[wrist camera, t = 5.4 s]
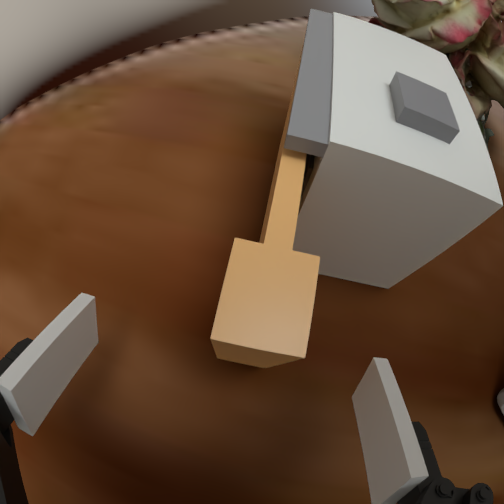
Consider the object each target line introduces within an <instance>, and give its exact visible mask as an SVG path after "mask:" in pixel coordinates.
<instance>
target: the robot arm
mask: <svg viewBox="0 0 504 504" xmlns="http://www.w3.org/2000/svg"><path fill="white" fill-rule="evenodd" d="M98 342H99V341H98V331H97V319H96V305H95V297H94V296H91V295H88V294H84V293H81V294H80V295H79V296H78V297H77V298H76V299H75V300H73V301H72V302H71V303H70V304H69V305H68V306H67V307H66V308H65V309H64V310H63V311H62V312H61V313H60V314H59V315H58V316H57V317H56V318H55V319H54V320H53V321H52V322H51V323H50V324H49V325H48V326H47V327H46V328H45V329H44V330H43V331H42V332H41V333H40V334H39V335H38V336H37V337H36V338H35V340H34V341H33V340H31V339H29V338H26V339H24V340H22V341H20V342H18V343H17V344H16V345H15V346H14V347H13V348H12V349H11V351H9V352H8V353H7V354H6V355H5V357H3V358H2V359H1V361H0V504H29V503H28V500H27V496H26V493H25V489H24V485H23V481H22V477H21V473H20V469H19V464H18V459H17V454H16V449H15V443H14V437H13V431H12V427H11V423H12V422H13V420H15V422H16V424H17V426H18V428H20V429H21V430H23V431H25V432H26V433H28V434H30V435H31V436H33V435H34V434H35V432H36V431H37V429H38V428H39V426H40V425H41V423H42V422H43V420H44V419H45V417H46V416H47V414H48V413H49V411H50V410H51V408H52V407H53V405H54V404H55V402H56V401H57V399H58V398H59V396H60V395H61V394H62V392H63V391H64V389H65V388H66V386H67V385H68V384H69V382H70V381H71V379H72V378H73V377H74V375H75V374H76V372H77V371H78V370H79V368H80V367H81V365H82V364H83V363H84V361H85V360H86V358H87V357H88V356H89V354H90V353H91V352H92V350H93V349H94V348H95V346H96V345H97V344H98ZM352 401H353V406H354V410H355V415H356V420H357V425H358V430H359V435H360V440H361V445H362V450H363V455H364V461H365V466H366V472H367V478H368V484H369V490H370V496H371V502H372V504H395V503H398V504H493V492H492V490H491V488H490V487H489V486H488V485H486V484H484V483H478V484H476V485H474V486H473V487H472V488H471V489H463V488H456V487H455V486H454V484H453V483H452V482H451V481H450V480H449V479H446V478H443V477H442V476H441V473H440V470H439V467H438V464H437V461H436V458H435V455H434V452H433V449H431V448H432V446H431V444H430V442H429V438H428V435H427V433H426V430H425V429H424V428H423V426H422V425H421V424H420V423H419V422H411V420H410V417H409V414H408V411H407V408H406V406H405V403H404V400H403V398H402V395H401V392H400V390H399V387H398V384H397V382H396V379H395V377H394V374H393V372H392V369H391V366H390V364H389V362H388V359H385V358H376V357H373V359H372V361H371V363H370V365H369V367H368V369H367V370H366V372H365V374H364V376H363V378H362V380H361V381H360V383H359V385H358V387H357V388H356V390H355V392H354V394H353V395H352Z"/></svg>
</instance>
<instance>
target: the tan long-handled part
mask: <svg viewBox="0 0 504 504" xmlns="http://www.w3.org/2000/svg"><path fill="white" fill-rule="evenodd" d="M303 46H304V45H303ZM302 51H303V49H302ZM301 56H302V53H301ZM300 62H301V57H300V61H299V66H298V70H297V74H296V79H295V83H294V87H293V91H292V96H291V100H290V104H289V108H288V113H287V117H286V121H285V125H284V130H283V134H282V138H281V142H280V147H279V151H278V156H277V161H276V166H275V170H274V175H273V180H272V184H271V189H270V194H269V199H268V203H267V208H266V213H265V217H264V222H263V227H262V231H261V236H260V241H259V243H258V242H253V241H249V240H244V239H240V238H235V239H234V243H233V247H232V251H231V255H230V259H229V263H228V267H227V271H226V275H225V279H224V283H223V287H222V291H221V296H220V300H219V304H218V308H217V312H216V316H215V320H214V325H213V329H212V333H211V337H210V340H211V342H212V345H213V348H214V351H215V353H216V356H217V358H218V359H223V360H227V361H232V362H236V363H241V364H246V365H251V366H256V367H261V368H268V367H273V366H277V365H280V364H284V363H288V362H292V361H296V360H299V359H303V358H305V356H306V350H307V344H308V338H309V332H310V326H311V319H312V313H313V306H314V299H315V292H316V285H317V278H318V270H319V263H320V256H316V255H311V254H307V253H302V252H298V251H293V250H292V249H293V243H294V237H295V231H296V224H297V218H298V211H299V205H300V198H301V191H302V184H303V177H304V170H305V163H306V156H307V154H306V153H302V152H298V151H294V150H290V149H286V148H284V144H285V139H286V134H287V129H288V123H289V118H290V113H291V108H292V103H293V98H294V93H295V88H296V82H297V77H298V72H299V67H300Z"/></svg>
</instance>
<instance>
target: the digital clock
mask: <svg viewBox="0 0 504 504" xmlns="http://www.w3.org/2000/svg"><path fill="white" fill-rule="evenodd" d="M497 402H498V405H499V407H500V409H501V411H502V413H503V415H504V388H503V389H502V390H501V391H500V392H499V394H498V396H497Z"/></svg>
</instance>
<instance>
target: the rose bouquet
mask: <svg viewBox="0 0 504 504" xmlns="http://www.w3.org/2000/svg"><path fill="white" fill-rule="evenodd" d="M372 4H373V5H374V11H375V13H376V14H377V15H378V17H379V18H371V19H370V21H369V22H368V23H371V24H374V25H377V26H380V27H383V28H385V29H388V30H391V31H393V32H396V33H398V34H401V35H403V36H406V37H408V38H410V39H413V40H415V41H417V42H420V43H422V44H424V45H426V46H428V47H431V48H433V49H435V50H437V51H439V52H441V53H443V54H445V55H446V56H447V58H448V60H449V62H450V64H451V66H452V68H453V69H454V71H455V73H456V75H457V77H458V79H459V82H460V84H461V86H462V88H463V90H464V92H465V94H466V96H467V99H468V101H469V103H470V106H471V108H472V110H473V113H474V115H475V118H476V120H477V123H478V125H479V128H480V130H481V133H482V136H483V139H484V141H485V144H486V147H487V150H488V145H487V144H488V140H489V137H490V136H493V135H494V134H493V132H492V131H491V129H487V128H486V129H485V127H484V125H485V123H486V120H487V118H488V115H489V110H490V108H491V107H492V104H491V100H495V101H498V102H499V103H500V105H501V106H502V107H503V108H504V0H372ZM501 21H502V22H501ZM484 114H485V118H484ZM481 120H484V121H481Z"/></svg>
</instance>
